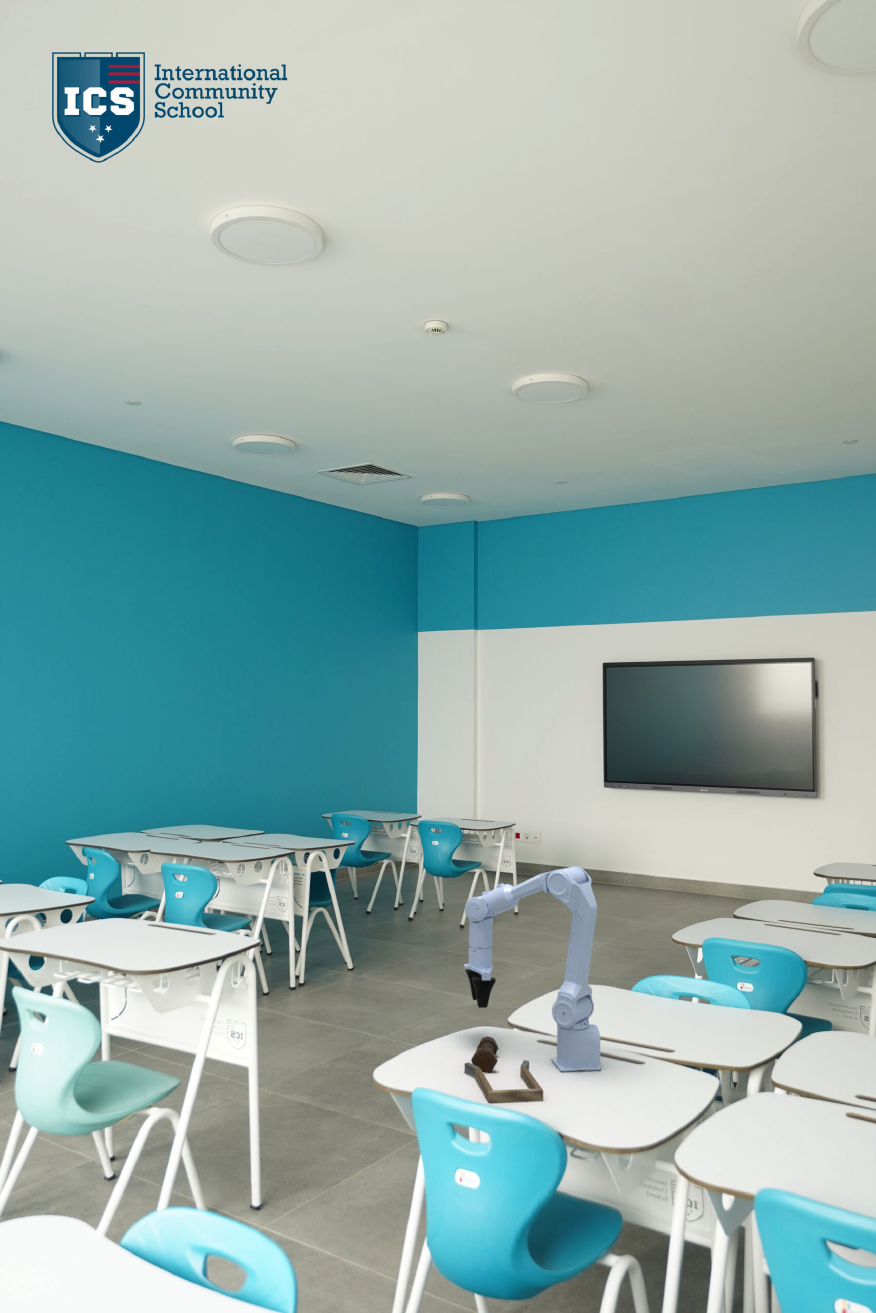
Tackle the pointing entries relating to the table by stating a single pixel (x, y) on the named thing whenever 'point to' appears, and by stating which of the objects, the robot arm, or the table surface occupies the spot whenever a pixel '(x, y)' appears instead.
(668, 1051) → the table surface
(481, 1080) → the frame
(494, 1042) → the bolt
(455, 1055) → the table surface
